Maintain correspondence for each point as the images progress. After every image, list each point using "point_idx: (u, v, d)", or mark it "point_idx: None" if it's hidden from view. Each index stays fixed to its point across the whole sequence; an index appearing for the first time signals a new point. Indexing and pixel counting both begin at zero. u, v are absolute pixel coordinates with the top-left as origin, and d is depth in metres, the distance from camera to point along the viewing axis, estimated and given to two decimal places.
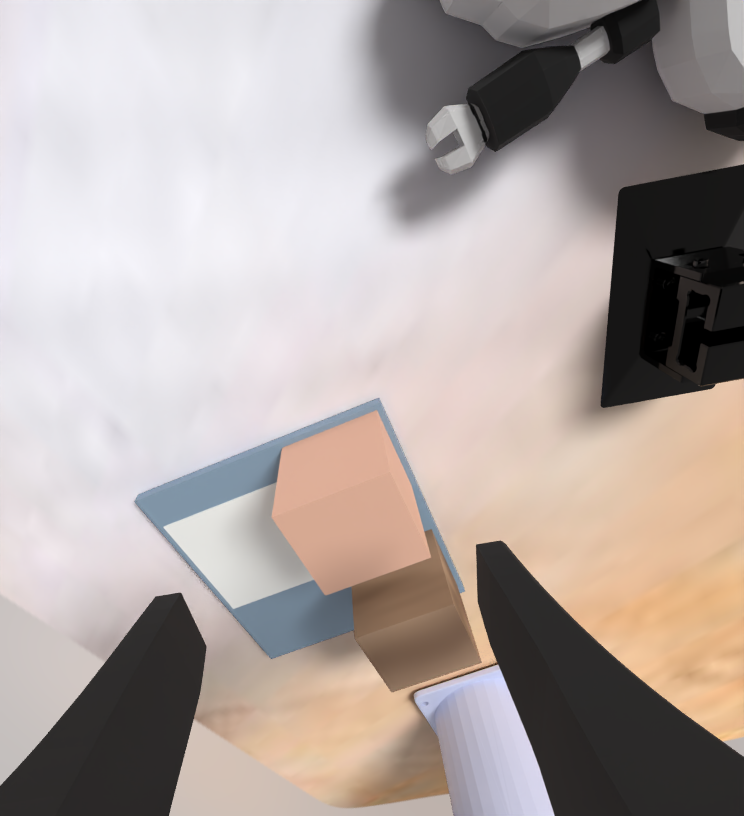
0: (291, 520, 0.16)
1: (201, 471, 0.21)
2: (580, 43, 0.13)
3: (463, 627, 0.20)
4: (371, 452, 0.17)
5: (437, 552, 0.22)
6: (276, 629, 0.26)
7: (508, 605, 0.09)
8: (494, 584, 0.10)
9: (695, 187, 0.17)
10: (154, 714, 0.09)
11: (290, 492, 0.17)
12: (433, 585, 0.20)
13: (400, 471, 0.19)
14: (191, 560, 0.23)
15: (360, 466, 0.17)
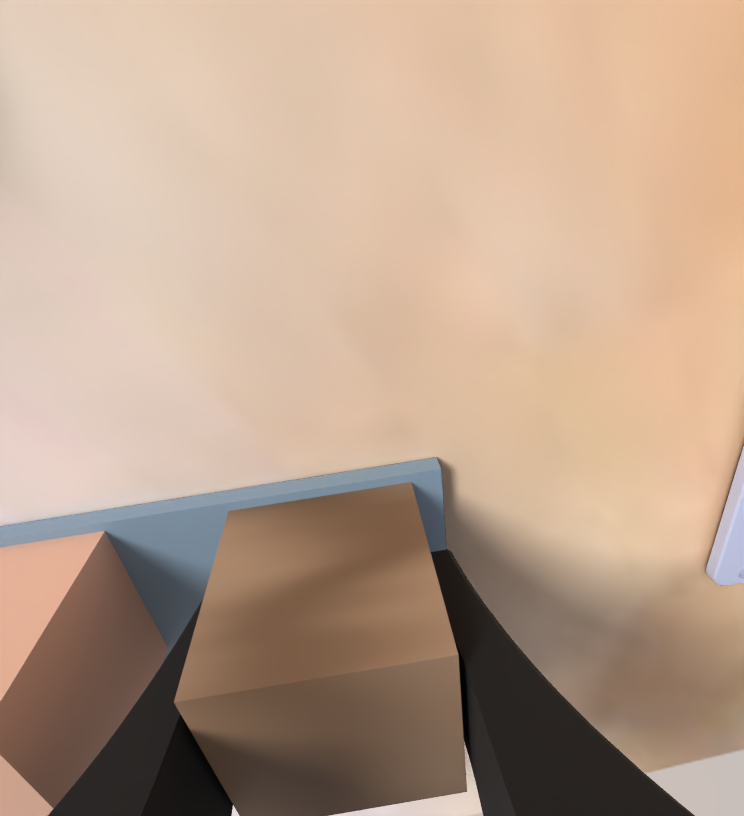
0: None
1: None
2: None
3: (280, 686, 0.07)
4: None
5: (216, 561, 0.10)
6: None
7: None
8: None
9: None
10: None
11: None
12: None
13: None
14: None
15: None
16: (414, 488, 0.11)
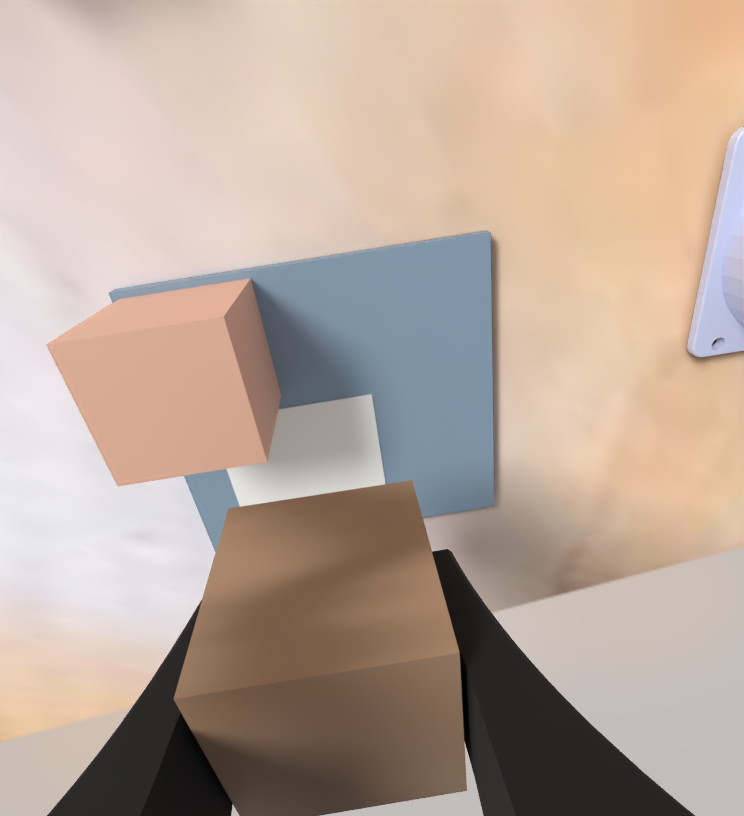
0: (125, 468, 0.13)
1: None
2: None
3: (280, 683, 0.07)
4: None
5: (216, 558, 0.10)
6: (446, 488, 0.20)
7: None
8: None
9: None
10: None
11: None
12: None
13: (167, 301, 0.14)
14: None
15: None
16: (470, 250, 0.16)
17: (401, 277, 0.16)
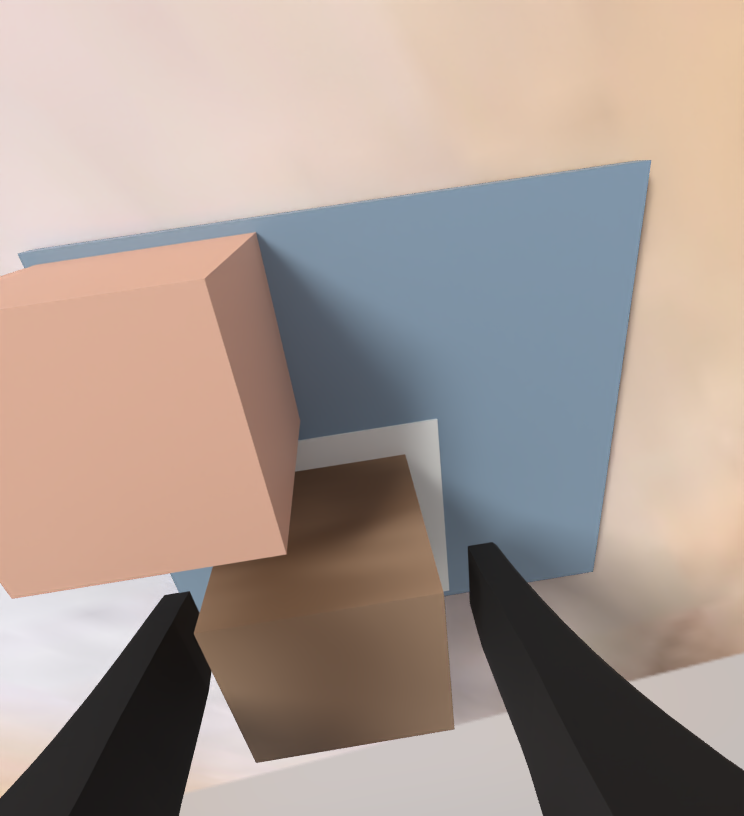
0: (22, 569, 0.07)
1: None
2: None
3: (286, 620, 0.08)
4: None
5: None
6: (529, 549, 0.14)
7: (498, 607, 0.09)
8: (484, 586, 0.10)
9: None
10: (164, 713, 0.09)
11: None
12: None
13: (109, 263, 0.08)
14: None
15: None
16: (615, 190, 0.10)
17: (499, 235, 0.10)
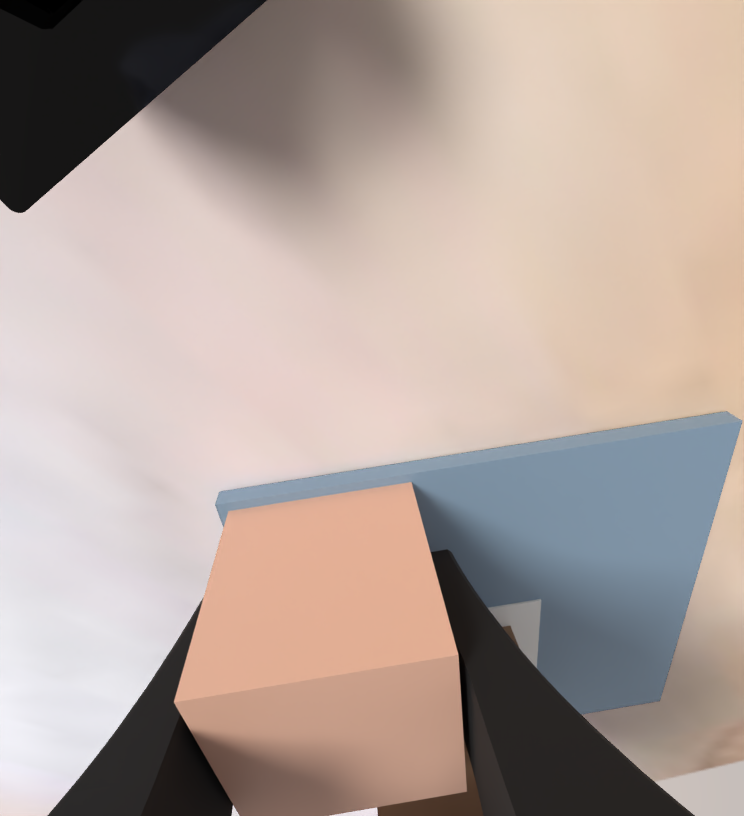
0: (262, 812, 0.09)
1: None
2: None
3: None
4: None
5: None
6: (606, 687, 0.16)
7: None
8: None
9: None
10: None
11: None
12: None
13: (317, 548, 0.10)
14: None
15: None
16: (710, 441, 0.11)
17: (611, 474, 0.12)
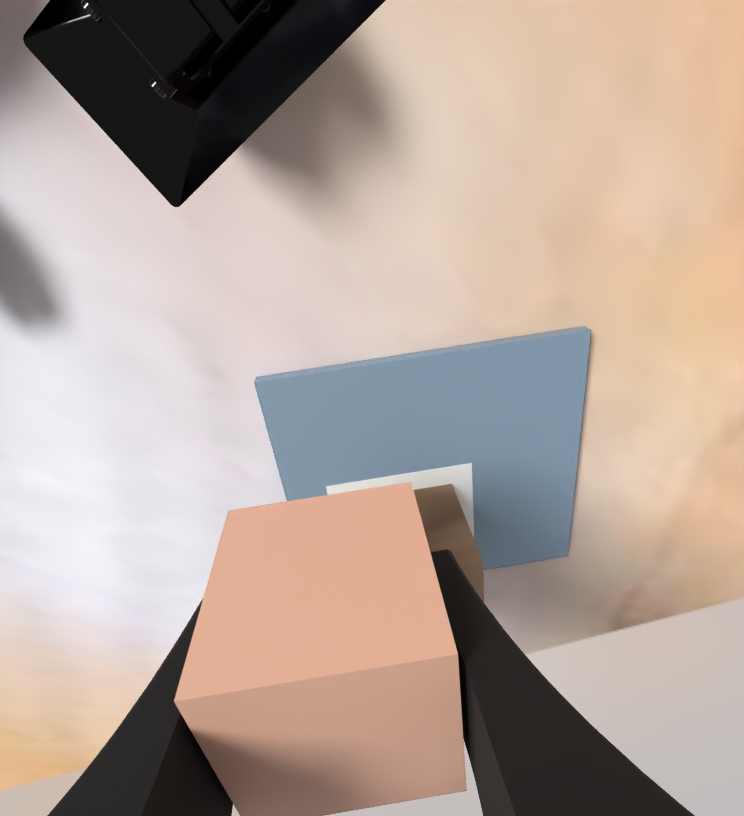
0: (262, 812, 0.09)
1: None
2: None
3: None
4: None
5: None
6: (526, 541, 0.22)
7: None
8: None
9: (106, 119, 0.14)
10: None
11: None
12: None
13: (317, 547, 0.10)
14: None
15: None
16: (572, 344, 0.18)
17: (509, 367, 0.18)
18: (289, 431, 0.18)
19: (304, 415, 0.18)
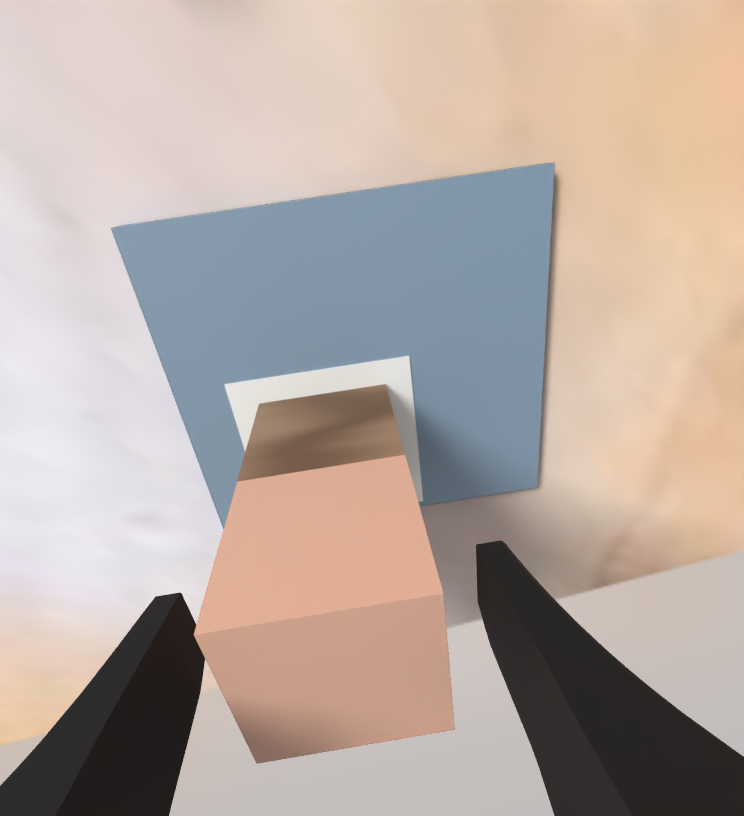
0: (270, 747, 0.10)
1: None
2: None
3: None
4: None
5: (253, 426, 0.15)
6: (485, 466, 0.18)
7: (508, 605, 0.09)
8: (494, 584, 0.10)
9: None
10: (153, 715, 0.09)
11: None
12: None
13: (319, 510, 0.11)
14: None
15: None
16: (530, 184, 0.14)
17: (449, 216, 0.14)
18: (167, 303, 0.14)
19: (184, 279, 0.14)
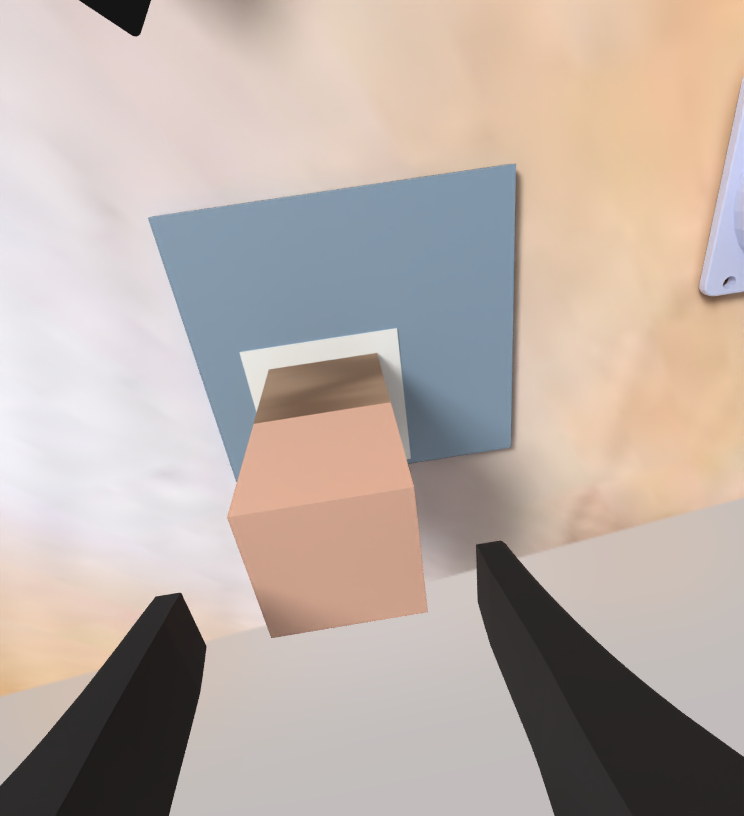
0: (282, 622, 0.13)
1: None
2: None
3: None
4: None
5: (265, 386, 0.17)
6: (464, 428, 0.21)
7: (508, 605, 0.09)
8: (494, 584, 0.10)
9: None
10: (153, 715, 0.09)
11: None
12: None
13: (320, 440, 0.13)
14: None
15: None
16: (496, 181, 0.16)
17: (429, 208, 0.17)
18: (193, 281, 0.17)
19: (207, 261, 0.17)
